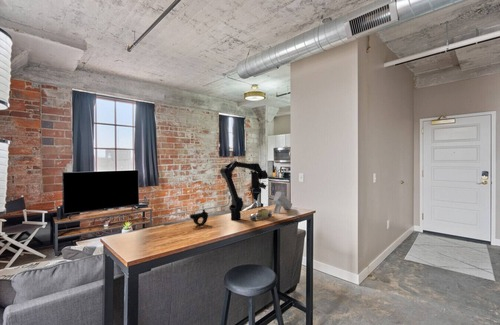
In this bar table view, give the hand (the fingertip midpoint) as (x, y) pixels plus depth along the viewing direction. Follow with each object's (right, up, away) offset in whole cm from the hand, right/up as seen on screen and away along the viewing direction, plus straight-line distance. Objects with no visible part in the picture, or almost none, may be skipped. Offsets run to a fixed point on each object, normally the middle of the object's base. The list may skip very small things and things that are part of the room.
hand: (255, 200), depth 189 cm
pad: (+5, -12, -9) cm, 16 cm away
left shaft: (-1, -12, -13) cm, 18 cm away
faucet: (+23, -12, +15) cm, 30 cm away
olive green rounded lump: (+5, -12, -9) cm, 16 cm away
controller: (-38, -13, -25) cm, 47 cm away
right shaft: (+10, -12, -3) cm, 16 cm away
